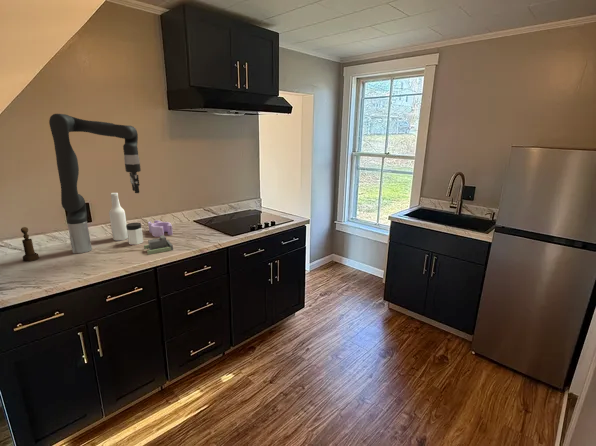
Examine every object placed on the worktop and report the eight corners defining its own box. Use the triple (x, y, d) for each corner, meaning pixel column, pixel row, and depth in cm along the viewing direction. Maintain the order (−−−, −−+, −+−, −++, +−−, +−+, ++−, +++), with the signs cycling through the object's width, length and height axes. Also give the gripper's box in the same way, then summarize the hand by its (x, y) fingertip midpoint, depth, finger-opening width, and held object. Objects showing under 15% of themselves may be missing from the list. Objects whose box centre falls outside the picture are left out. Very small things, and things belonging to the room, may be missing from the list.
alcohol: (118, 241, 198) (111, 194, 190) (110, 239, 202) (102, 193, 194) (131, 237, 206) (125, 192, 197) (122, 235, 209) (116, 191, 201)
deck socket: (147, 254, 178) (147, 249, 178) (144, 248, 187) (143, 243, 187) (173, 250, 186) (172, 245, 185) (168, 244, 195) (168, 239, 194)
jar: (137, 239, 203) (135, 221, 200) (146, 241, 200) (144, 223, 196) (125, 243, 195) (122, 225, 192) (134, 245, 192) (131, 226, 189)
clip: (144, 232, 218) (143, 222, 216) (161, 228, 227) (160, 219, 225) (158, 238, 206) (157, 228, 204) (176, 234, 215) (175, 224, 213)
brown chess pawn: (37, 256, 174) (30, 224, 169) (40, 259, 170) (33, 227, 165) (22, 259, 169) (14, 227, 164) (24, 262, 165) (17, 230, 160)
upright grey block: (150, 252, 182) (149, 240, 180) (149, 249, 186) (147, 237, 184) (167, 249, 187) (166, 237, 185) (165, 247, 191) (163, 235, 189)
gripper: (123, 162, 178) (126, 190, 182) (126, 164, 167) (130, 194, 171) (137, 161, 182) (141, 189, 187) (142, 163, 171) (145, 193, 175)
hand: (136, 191), depth 179 cm, fingers open, 8 cm apart
